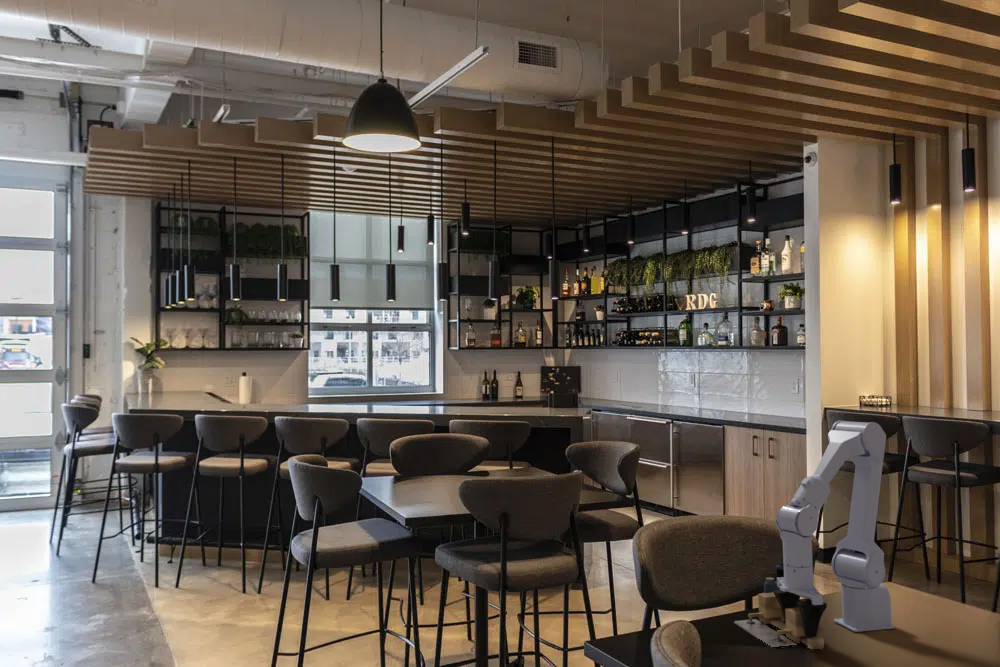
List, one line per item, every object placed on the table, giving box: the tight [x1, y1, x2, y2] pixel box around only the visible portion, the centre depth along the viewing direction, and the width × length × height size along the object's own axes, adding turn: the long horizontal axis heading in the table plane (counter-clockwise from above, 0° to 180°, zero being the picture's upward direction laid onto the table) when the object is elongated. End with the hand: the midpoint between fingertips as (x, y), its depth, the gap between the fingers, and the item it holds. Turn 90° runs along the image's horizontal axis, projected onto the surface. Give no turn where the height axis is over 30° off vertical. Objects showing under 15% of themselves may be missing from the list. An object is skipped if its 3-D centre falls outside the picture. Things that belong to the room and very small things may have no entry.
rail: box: [768, 618, 825, 649], centre depth 176 cm, size 3×22×2 cm, turn 11°
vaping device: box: [763, 560, 784, 593], centre depth 189 cm, size 3×5×12 cm, turn 78°
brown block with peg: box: [776, 607, 817, 644], centre depth 171 cm, size 8×4×6 cm, turn 101°
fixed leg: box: [747, 592, 785, 625], centre depth 183 cm, size 8×3×6 cm, turn 101°
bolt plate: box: [733, 618, 797, 648], centre depth 176 cm, size 5×17×1 cm, turn 11°
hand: (800, 630), depth 171 cm, fingers open, 7 cm apart
